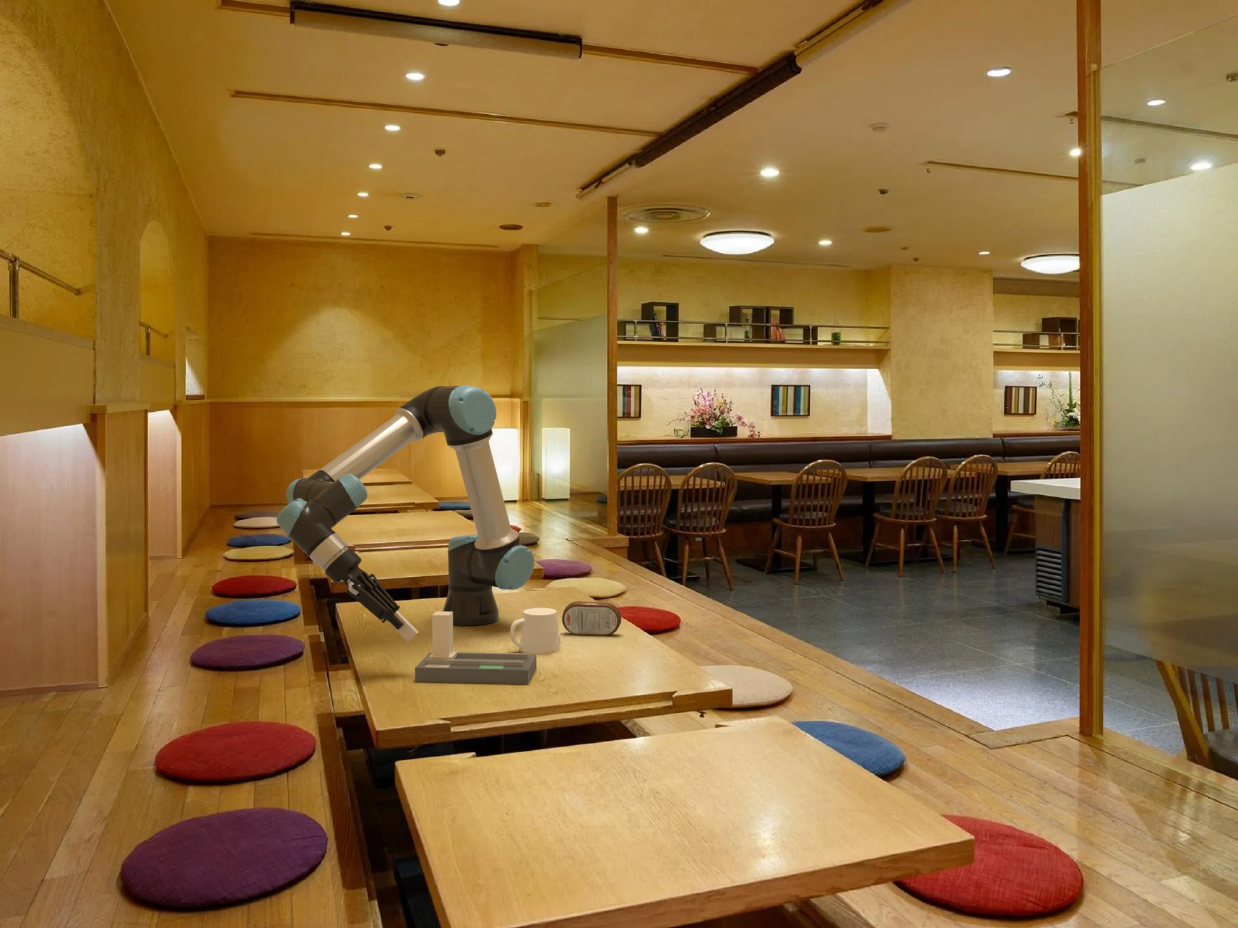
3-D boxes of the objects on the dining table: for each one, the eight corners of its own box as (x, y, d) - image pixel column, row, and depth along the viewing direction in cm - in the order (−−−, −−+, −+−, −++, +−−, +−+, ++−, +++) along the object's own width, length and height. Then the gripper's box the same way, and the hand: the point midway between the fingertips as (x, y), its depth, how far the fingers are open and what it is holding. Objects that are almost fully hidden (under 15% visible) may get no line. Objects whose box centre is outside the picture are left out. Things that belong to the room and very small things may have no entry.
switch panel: (429, 665, 212) (429, 648, 212) (536, 668, 211) (536, 650, 210) (415, 681, 200) (414, 662, 200) (528, 684, 199) (528, 665, 198)
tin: (621, 634, 242) (621, 601, 241) (620, 637, 239) (620, 604, 238) (562, 632, 243) (563, 600, 243) (561, 635, 240) (561, 602, 240)
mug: (552, 606, 231) (564, 612, 224) (552, 644, 232) (564, 651, 225) (505, 610, 226) (516, 617, 219) (505, 649, 227) (516, 657, 220)
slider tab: (434, 655, 208) (433, 610, 207) (456, 656, 208) (456, 611, 207) (428, 661, 203) (428, 615, 203) (452, 661, 203) (451, 615, 202)
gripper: (335, 566, 212) (409, 641, 212) (313, 576, 199) (392, 656, 199) (358, 542, 212) (433, 618, 212) (337, 552, 199) (417, 632, 199)
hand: (413, 636), depth 206 cm, fingers closed
